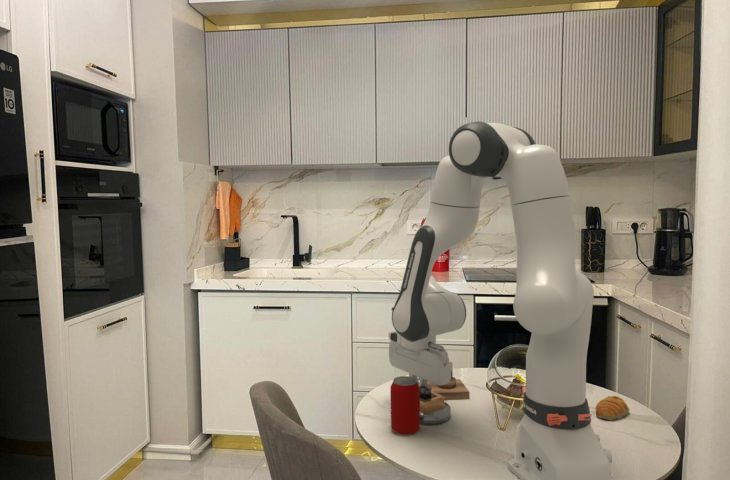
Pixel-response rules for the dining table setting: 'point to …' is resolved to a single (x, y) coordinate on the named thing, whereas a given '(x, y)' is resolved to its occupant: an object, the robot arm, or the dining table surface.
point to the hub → (436, 416)
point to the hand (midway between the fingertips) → (418, 391)
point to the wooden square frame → (432, 404)
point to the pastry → (611, 408)
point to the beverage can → (405, 405)
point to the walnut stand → (451, 388)
